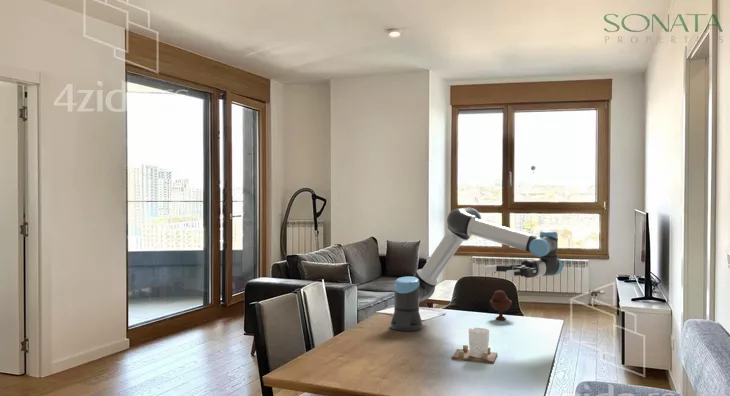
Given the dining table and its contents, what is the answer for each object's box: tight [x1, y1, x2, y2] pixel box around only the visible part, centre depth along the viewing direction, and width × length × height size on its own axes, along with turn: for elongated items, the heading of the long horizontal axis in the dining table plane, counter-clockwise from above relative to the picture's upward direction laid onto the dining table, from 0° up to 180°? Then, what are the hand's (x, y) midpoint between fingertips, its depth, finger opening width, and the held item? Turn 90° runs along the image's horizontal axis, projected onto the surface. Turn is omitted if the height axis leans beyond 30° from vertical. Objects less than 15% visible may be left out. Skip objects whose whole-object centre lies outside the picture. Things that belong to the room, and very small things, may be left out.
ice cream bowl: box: [489, 289, 513, 322], centre depth 292 cm, size 11×11×15 cm
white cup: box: [468, 327, 490, 358], centre depth 225 cm, size 8×8×10 cm
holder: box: [451, 344, 498, 365], centre depth 226 cm, size 16×12×3 cm
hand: (495, 271), depth 237 cm, fingers open, 13 cm apart
